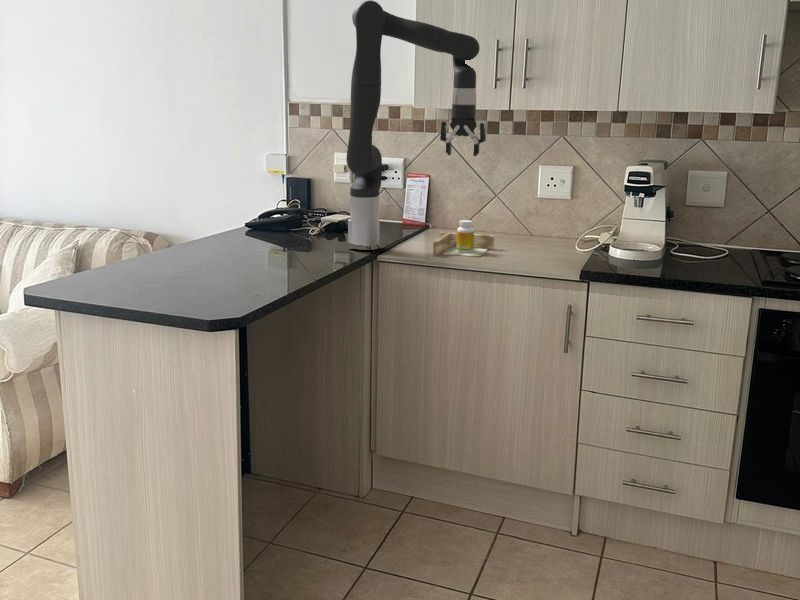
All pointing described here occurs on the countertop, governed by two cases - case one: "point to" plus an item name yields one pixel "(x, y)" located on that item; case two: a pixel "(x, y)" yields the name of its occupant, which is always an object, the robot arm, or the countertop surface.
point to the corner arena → (450, 240)
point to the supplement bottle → (465, 237)
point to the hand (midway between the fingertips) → (462, 155)
